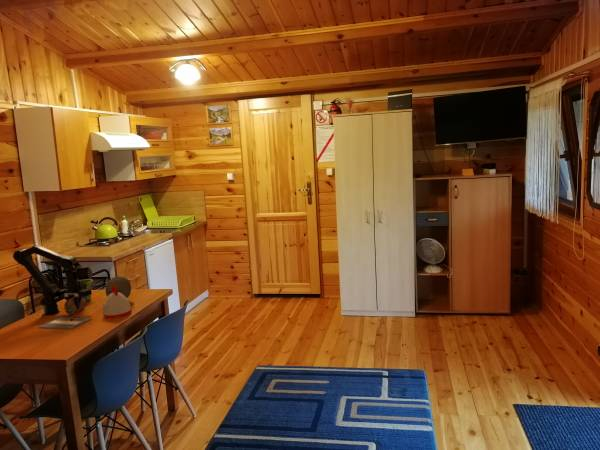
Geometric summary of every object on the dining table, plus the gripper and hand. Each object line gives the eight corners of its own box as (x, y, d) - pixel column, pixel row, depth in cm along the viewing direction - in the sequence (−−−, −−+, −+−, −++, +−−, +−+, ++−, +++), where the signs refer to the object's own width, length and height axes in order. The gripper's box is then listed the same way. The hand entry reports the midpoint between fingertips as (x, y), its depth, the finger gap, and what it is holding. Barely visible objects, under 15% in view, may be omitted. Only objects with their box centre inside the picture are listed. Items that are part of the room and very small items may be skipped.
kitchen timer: (126, 307, 256) (123, 281, 254) (135, 313, 246) (131, 285, 243) (100, 314, 248) (96, 287, 246) (108, 320, 237) (104, 291, 235)
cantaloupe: (101, 305, 264) (97, 279, 261) (122, 297, 276) (119, 273, 273) (117, 308, 256) (114, 281, 254) (138, 300, 268) (135, 275, 266)
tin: (69, 316, 248) (67, 301, 246) (64, 316, 248) (62, 301, 247) (87, 307, 262) (85, 292, 261) (82, 307, 263) (80, 292, 261)
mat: (38, 327, 233) (38, 326, 233) (59, 318, 246) (59, 316, 246) (71, 329, 227) (71, 328, 227) (91, 319, 241) (91, 318, 241)
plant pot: (95, 295, 284) (92, 277, 282) (95, 301, 273) (92, 282, 271) (73, 299, 279) (70, 281, 278) (72, 304, 268) (70, 285, 267)
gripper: (96, 276, 258) (100, 303, 260) (68, 276, 263) (72, 303, 265) (82, 282, 247) (86, 310, 249) (53, 281, 252) (57, 309, 254)
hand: (76, 308), depth 255 cm, fingers closed on tin, 3 cm apart
